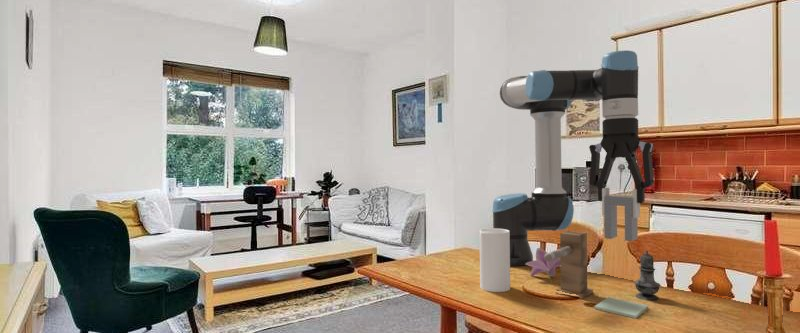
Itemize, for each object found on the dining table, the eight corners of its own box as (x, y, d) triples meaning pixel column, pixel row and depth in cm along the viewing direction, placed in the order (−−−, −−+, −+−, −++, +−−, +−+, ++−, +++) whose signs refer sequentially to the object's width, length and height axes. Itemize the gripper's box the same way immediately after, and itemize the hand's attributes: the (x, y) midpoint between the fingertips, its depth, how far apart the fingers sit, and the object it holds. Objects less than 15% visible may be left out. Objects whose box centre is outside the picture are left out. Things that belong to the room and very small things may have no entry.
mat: (608, 299, 108) (608, 297, 108) (648, 308, 101) (648, 305, 101) (594, 308, 101) (594, 306, 101) (635, 318, 95) (635, 315, 95)
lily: (576, 283, 125) (567, 251, 130) (568, 276, 116) (558, 243, 121) (536, 291, 130) (529, 260, 135) (525, 285, 121) (518, 252, 126)
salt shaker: (651, 302, 105) (651, 254, 105) (629, 296, 110) (628, 249, 110) (665, 298, 108) (665, 251, 107) (643, 292, 113) (642, 247, 113)
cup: (476, 289, 117) (475, 231, 117) (484, 282, 125) (484, 227, 124) (506, 293, 113) (505, 234, 113) (513, 285, 121) (512, 229, 120)
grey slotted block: (610, 235, 104) (610, 195, 104) (637, 238, 100) (637, 196, 100) (604, 238, 102) (604, 196, 101) (631, 241, 97) (631, 197, 97)
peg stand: (566, 287, 118) (566, 229, 118) (592, 292, 113) (592, 232, 113) (533, 304, 105) (532, 239, 105) (560, 311, 100) (560, 243, 100)
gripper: (573, 120, 105) (574, 214, 105) (661, 113, 91) (662, 221, 91) (585, 122, 110) (586, 211, 110) (670, 115, 96) (671, 217, 97)
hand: (620, 215), depth 101 cm, fingers closed on grey slotted block, 6 cm apart
